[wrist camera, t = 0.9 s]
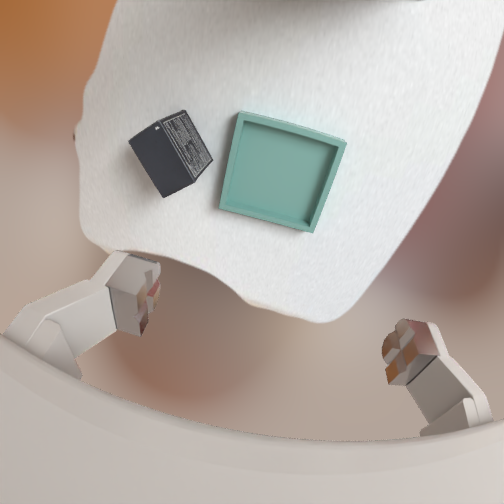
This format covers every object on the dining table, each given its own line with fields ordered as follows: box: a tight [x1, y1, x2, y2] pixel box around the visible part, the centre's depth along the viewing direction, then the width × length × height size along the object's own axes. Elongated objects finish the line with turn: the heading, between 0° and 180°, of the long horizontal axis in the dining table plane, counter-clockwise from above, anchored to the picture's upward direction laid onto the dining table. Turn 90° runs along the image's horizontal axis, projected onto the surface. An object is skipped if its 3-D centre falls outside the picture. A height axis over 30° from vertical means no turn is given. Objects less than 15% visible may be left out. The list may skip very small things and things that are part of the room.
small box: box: [128, 110, 213, 198], centre depth 40 cm, size 11×6×10 cm, turn 26°
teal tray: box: [219, 111, 347, 233], centre depth 45 cm, size 17×17×3 cm
